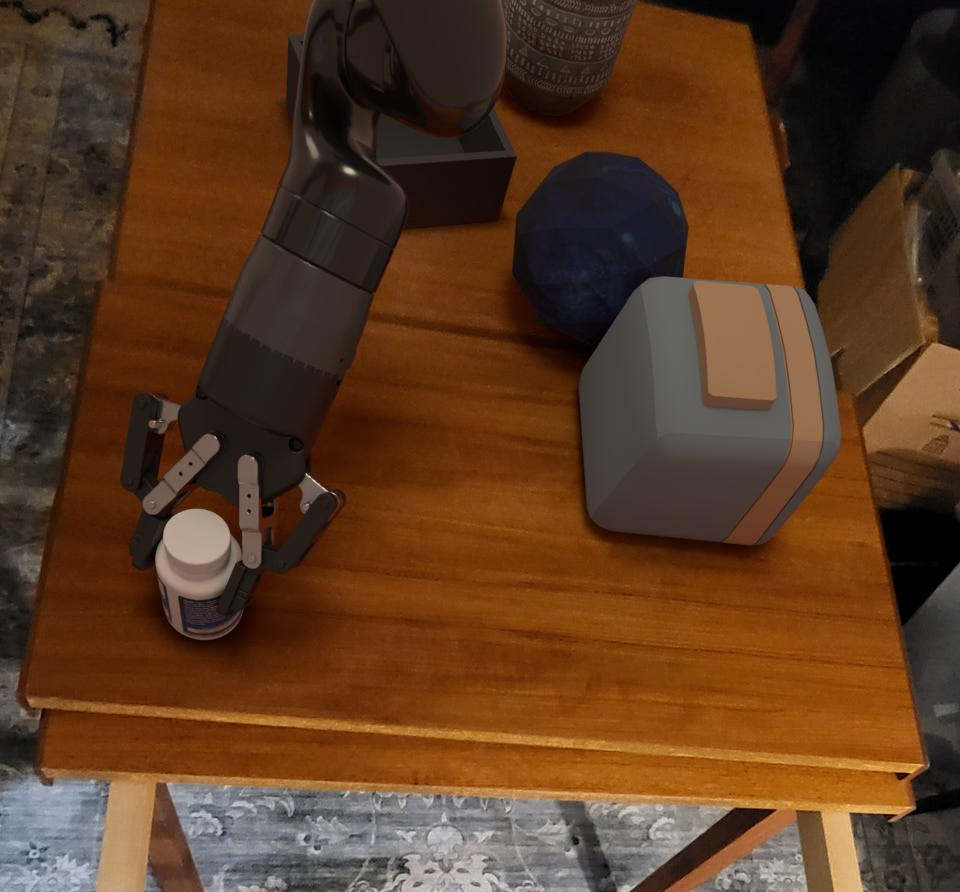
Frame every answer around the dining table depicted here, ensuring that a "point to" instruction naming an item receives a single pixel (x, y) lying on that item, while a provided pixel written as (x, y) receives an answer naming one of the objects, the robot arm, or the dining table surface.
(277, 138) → the dining table surface
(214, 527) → the pill bottle
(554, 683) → the dining table surface
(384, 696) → the dining table surface
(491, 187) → the bin
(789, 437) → the grey rounded cube box
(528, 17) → the planter
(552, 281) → the decorative orb
